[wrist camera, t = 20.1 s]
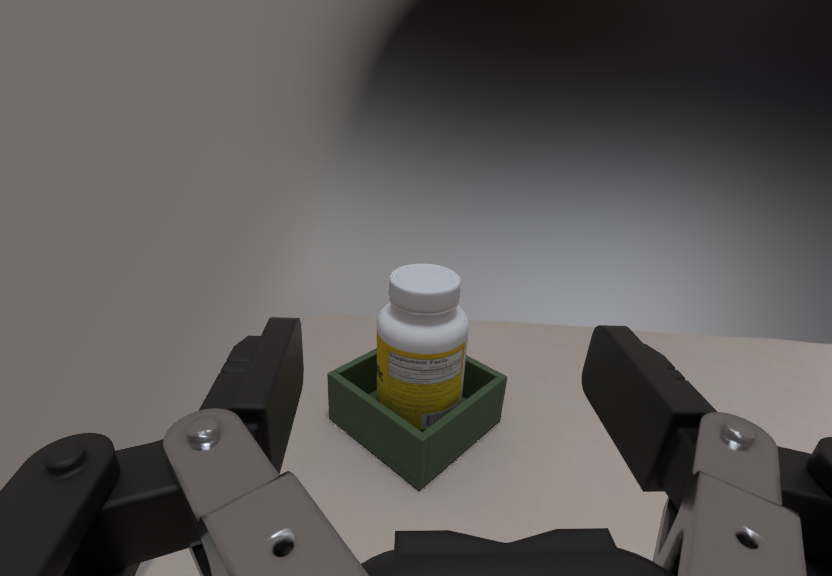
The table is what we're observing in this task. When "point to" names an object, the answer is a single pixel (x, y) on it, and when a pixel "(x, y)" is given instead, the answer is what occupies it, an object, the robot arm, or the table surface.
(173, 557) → the table surface
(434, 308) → the supplement bottle
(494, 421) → the basket
